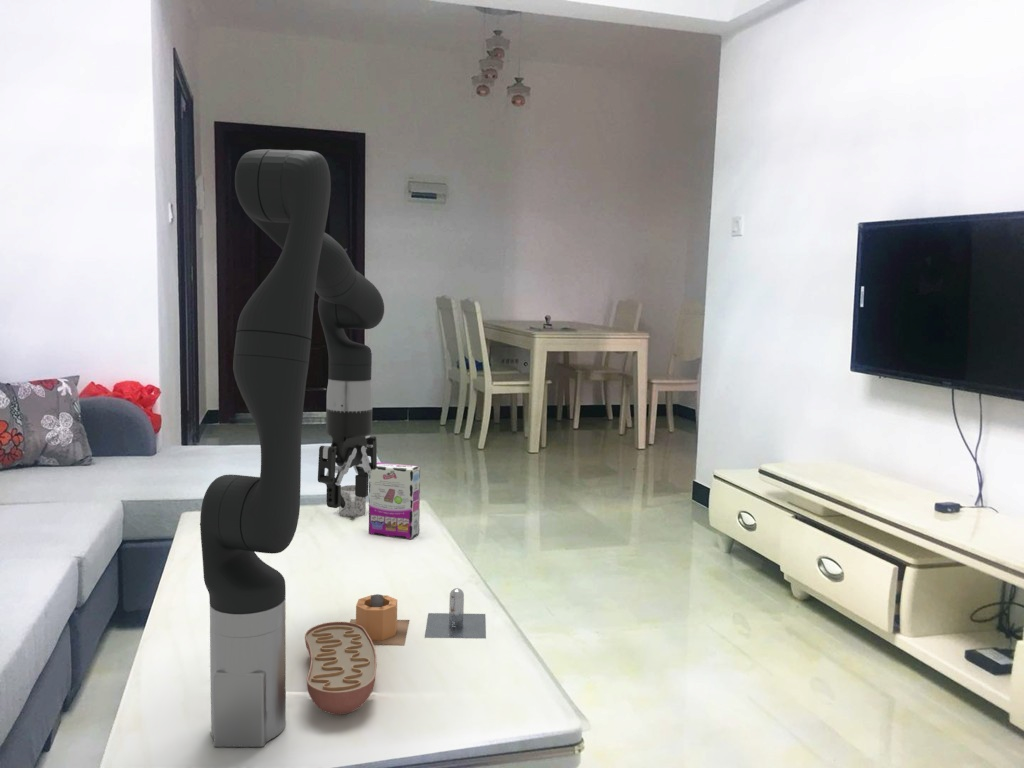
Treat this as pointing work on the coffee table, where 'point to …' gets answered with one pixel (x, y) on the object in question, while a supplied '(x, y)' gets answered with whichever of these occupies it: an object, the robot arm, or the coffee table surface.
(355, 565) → the coffee table surface
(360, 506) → the mug
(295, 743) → the coffee table surface
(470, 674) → the coffee table surface
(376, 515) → the candy bar box
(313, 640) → the anatomical model
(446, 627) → the silver peg on base
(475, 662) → the coffee table surface
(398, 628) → the stand
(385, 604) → the collar
